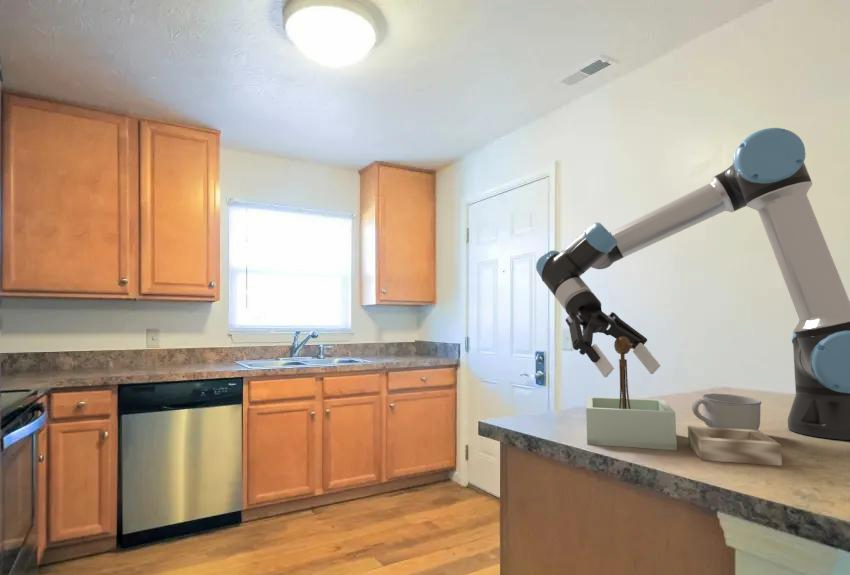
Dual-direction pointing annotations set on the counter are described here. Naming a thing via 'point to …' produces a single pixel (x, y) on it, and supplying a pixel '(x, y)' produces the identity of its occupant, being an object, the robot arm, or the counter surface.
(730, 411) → the teacup
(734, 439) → the shallow wooden tray
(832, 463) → the counter surface
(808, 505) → the counter surface
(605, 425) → the bin
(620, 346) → the wooden tabletop sculpture
